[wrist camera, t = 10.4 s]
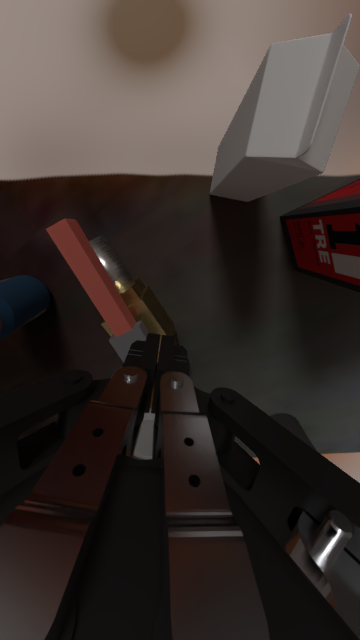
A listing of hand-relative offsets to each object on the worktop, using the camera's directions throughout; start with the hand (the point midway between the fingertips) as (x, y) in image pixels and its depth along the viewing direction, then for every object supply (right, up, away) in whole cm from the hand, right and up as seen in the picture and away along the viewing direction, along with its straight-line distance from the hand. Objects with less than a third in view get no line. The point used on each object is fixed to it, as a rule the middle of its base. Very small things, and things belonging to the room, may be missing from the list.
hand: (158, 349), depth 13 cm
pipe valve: (-6, +4, +27) cm, 28 cm away
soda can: (-24, +6, +26) cm, 36 cm away
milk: (+9, +23, +20) cm, 32 cm away
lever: (-8, +5, +17) cm, 19 cm away
